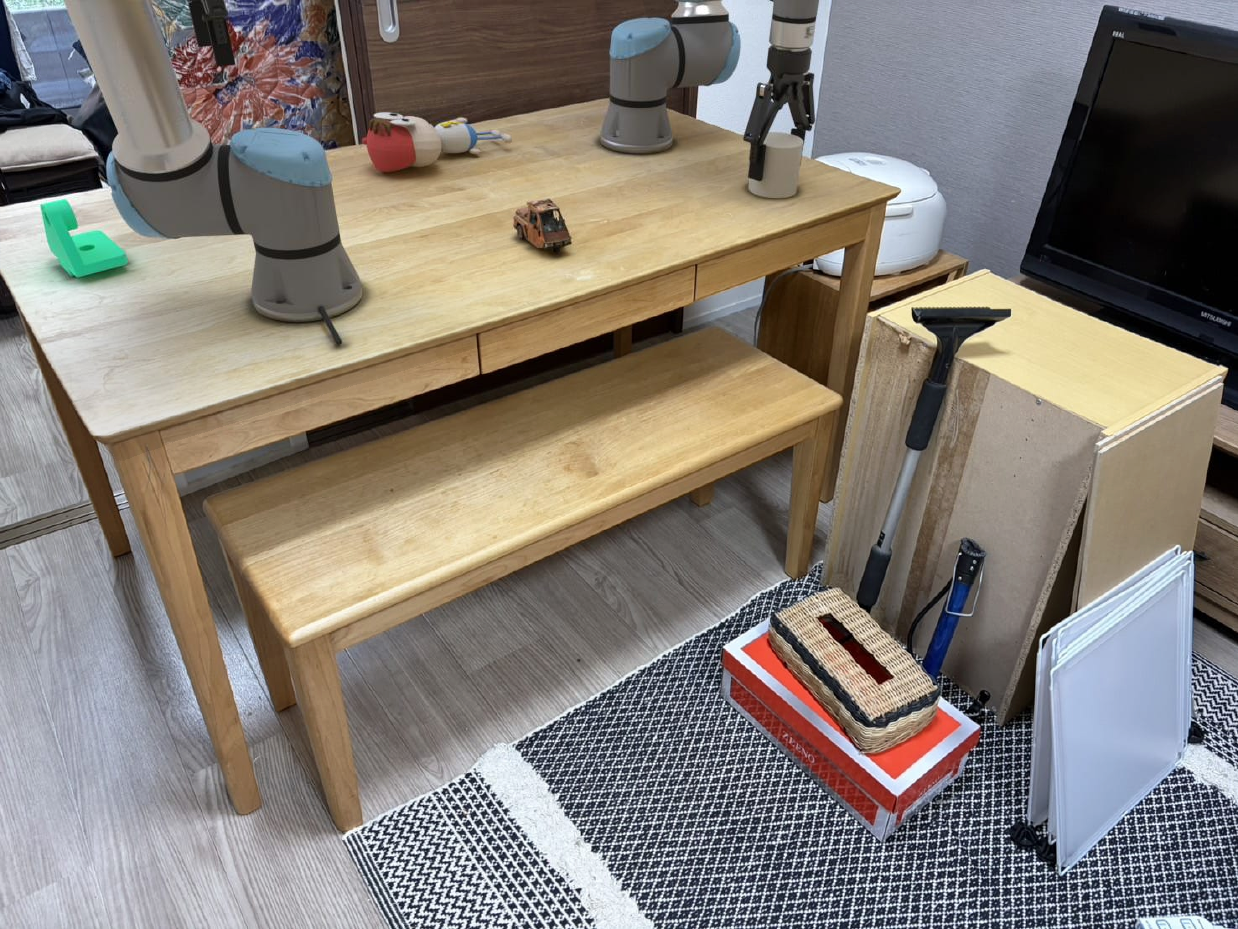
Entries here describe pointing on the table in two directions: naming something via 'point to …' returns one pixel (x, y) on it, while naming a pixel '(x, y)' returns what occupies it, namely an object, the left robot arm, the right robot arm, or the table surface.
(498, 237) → the table surface
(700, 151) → the table surface
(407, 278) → the table surface
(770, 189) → the canister
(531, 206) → the toy car
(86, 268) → the camera mount
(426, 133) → the toy
